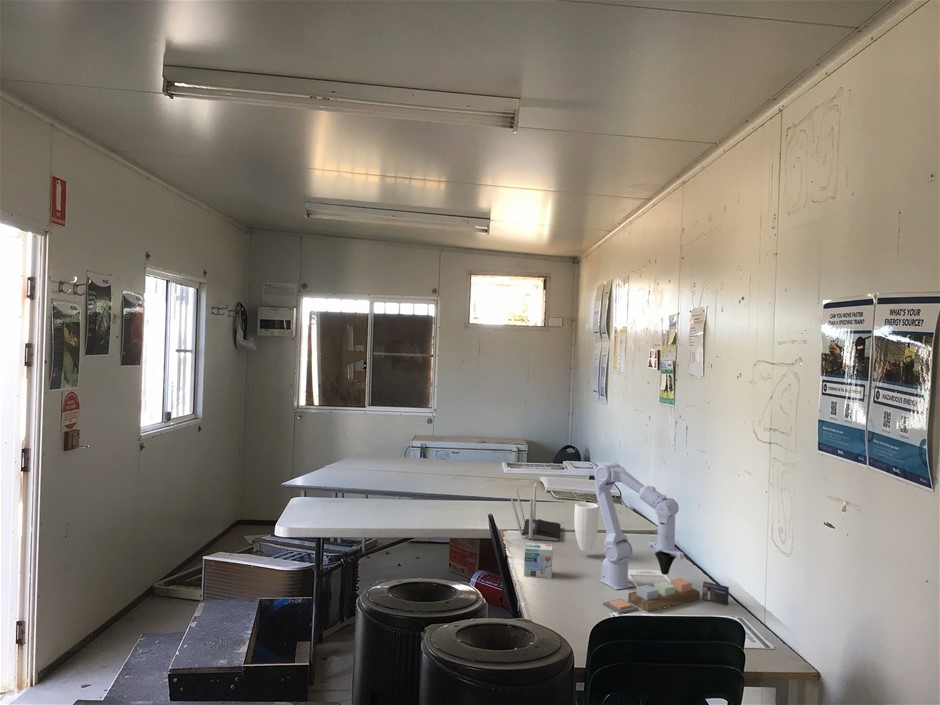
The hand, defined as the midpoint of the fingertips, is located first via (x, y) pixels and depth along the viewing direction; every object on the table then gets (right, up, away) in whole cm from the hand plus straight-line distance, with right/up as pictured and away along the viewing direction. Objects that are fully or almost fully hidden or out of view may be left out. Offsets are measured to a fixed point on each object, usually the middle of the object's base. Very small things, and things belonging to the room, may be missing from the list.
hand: (664, 573), depth 212 cm
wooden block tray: (0, -9, 0) cm, 9 cm away
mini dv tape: (+18, -10, 0) cm, 20 cm away
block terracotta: (+7, -8, +4) cm, 11 cm away
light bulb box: (-42, -9, +22) cm, 48 cm away
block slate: (-7, -8, -4) cm, 11 cm away
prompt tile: (-17, -9, -7) cm, 20 cm away
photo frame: (+1, -10, +20) cm, 22 cm away
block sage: (0, -8, 0) cm, 8 cm away
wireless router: (-37, -9, +76) cm, 85 cm away
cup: (-19, -9, +44) cm, 49 cm away
